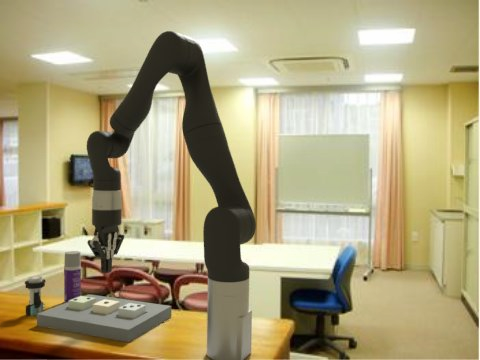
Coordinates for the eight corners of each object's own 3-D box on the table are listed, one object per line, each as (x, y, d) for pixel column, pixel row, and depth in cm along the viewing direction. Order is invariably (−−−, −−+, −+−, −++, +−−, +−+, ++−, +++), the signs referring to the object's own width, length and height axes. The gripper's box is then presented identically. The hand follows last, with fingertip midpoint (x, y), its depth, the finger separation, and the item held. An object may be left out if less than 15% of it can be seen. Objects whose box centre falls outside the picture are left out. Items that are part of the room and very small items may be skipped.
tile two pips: (95, 306, 129) (95, 297, 129) (83, 311, 124) (83, 302, 124) (81, 304, 131) (81, 295, 131) (68, 309, 126) (68, 299, 126)
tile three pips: (145, 314, 123) (145, 304, 123) (134, 320, 118) (134, 309, 118) (129, 311, 125) (129, 302, 125) (117, 317, 120) (118, 307, 120)
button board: (171, 316, 129) (171, 306, 129) (128, 342, 110) (128, 329, 110) (88, 304, 139) (88, 294, 139) (36, 325, 120) (36, 314, 120)
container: (75, 304, 138) (75, 254, 138) (61, 303, 139) (61, 253, 139) (83, 300, 143) (83, 251, 142) (69, 299, 144) (69, 250, 143)
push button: (36, 308, 135) (36, 273, 134) (52, 309, 133) (52, 275, 133) (20, 315, 128) (20, 279, 128) (37, 317, 127) (37, 280, 126)
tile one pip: (119, 310, 126) (120, 300, 126) (108, 315, 121) (108, 306, 121) (104, 307, 128) (104, 298, 128) (92, 313, 123) (92, 303, 123)
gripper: (102, 210, 116) (102, 279, 117) (133, 206, 128) (132, 268, 129) (78, 208, 119) (77, 276, 119) (110, 204, 131) (110, 266, 132)
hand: (106, 272), depth 124 cm, fingers closed
